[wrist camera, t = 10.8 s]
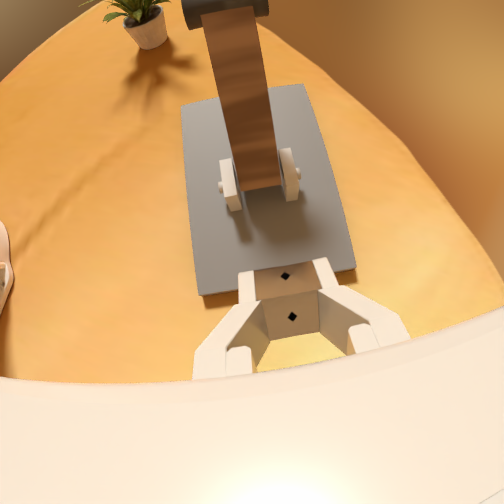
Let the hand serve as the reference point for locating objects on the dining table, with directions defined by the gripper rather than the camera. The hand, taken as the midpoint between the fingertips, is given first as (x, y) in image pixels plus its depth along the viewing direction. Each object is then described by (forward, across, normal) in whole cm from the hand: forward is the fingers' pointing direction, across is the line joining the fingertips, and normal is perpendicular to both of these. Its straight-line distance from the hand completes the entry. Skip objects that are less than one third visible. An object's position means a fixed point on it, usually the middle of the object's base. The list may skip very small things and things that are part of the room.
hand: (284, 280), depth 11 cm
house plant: (+47, +14, -17) cm, 52 cm away
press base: (+25, 0, +5) cm, 25 cm away
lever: (+21, 0, +4) cm, 21 cm away
